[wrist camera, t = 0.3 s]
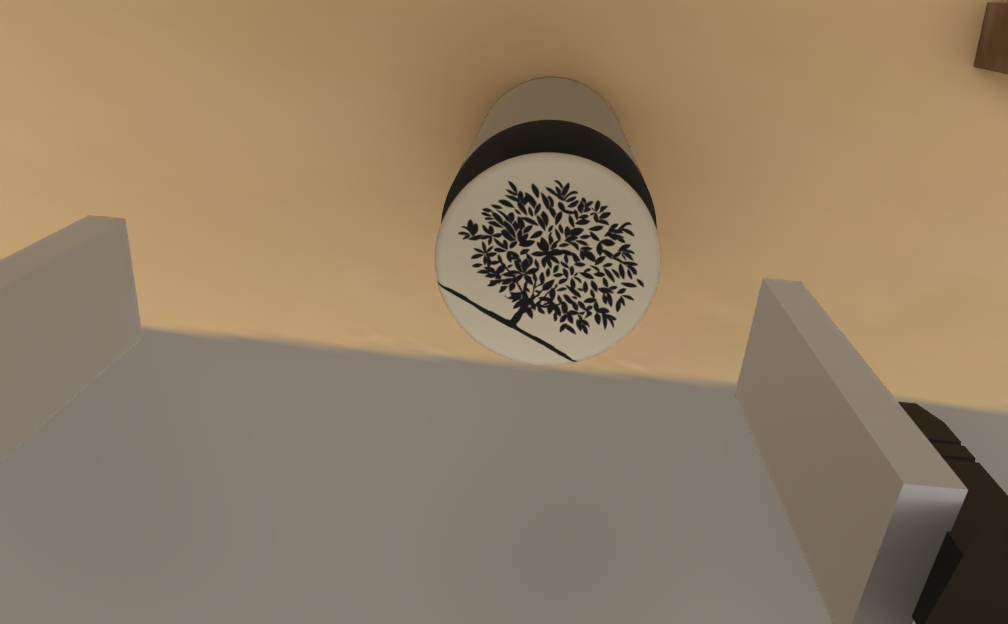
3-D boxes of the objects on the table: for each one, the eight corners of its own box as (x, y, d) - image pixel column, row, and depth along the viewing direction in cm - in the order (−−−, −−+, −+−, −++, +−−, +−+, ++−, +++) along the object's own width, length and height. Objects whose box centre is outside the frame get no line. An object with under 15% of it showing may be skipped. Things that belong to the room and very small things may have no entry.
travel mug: (541, 43, 38) (531, 91, 22) (653, 142, 40) (721, 254, 24) (449, 160, 41) (379, 280, 25) (557, 248, 43) (558, 413, 27)
